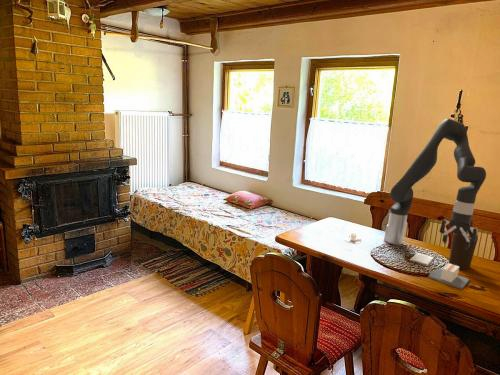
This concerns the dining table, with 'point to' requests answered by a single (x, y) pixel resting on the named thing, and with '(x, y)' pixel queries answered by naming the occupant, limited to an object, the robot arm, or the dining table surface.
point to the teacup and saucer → (353, 238)
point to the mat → (457, 282)
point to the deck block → (449, 272)
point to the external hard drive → (421, 259)
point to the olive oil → (462, 250)
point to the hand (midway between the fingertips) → (454, 245)
